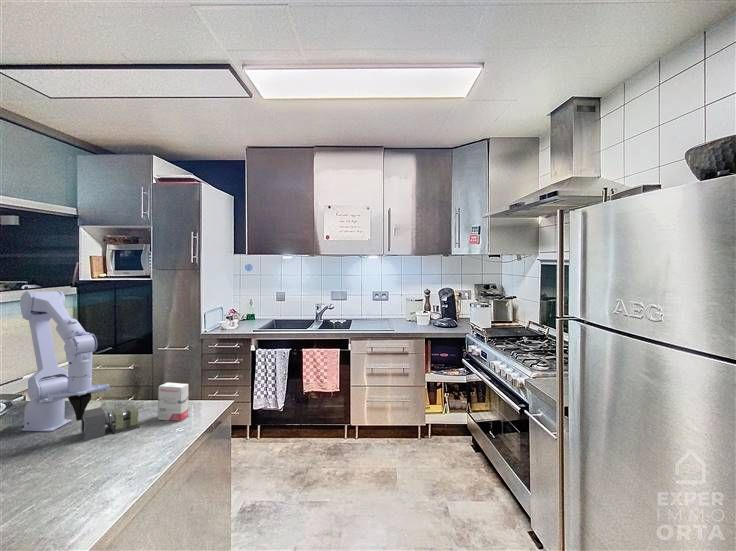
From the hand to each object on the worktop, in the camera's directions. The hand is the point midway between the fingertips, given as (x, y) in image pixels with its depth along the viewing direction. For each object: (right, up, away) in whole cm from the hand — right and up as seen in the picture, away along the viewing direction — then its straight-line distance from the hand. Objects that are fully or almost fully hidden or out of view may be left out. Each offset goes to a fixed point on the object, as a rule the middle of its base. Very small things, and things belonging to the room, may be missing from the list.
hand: (79, 419), depth 109 cm
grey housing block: (+2, -6, +3) cm, 7 cm away
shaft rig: (+6, -6, +6) cm, 10 cm away
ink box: (+20, -6, +17) cm, 27 cm away
